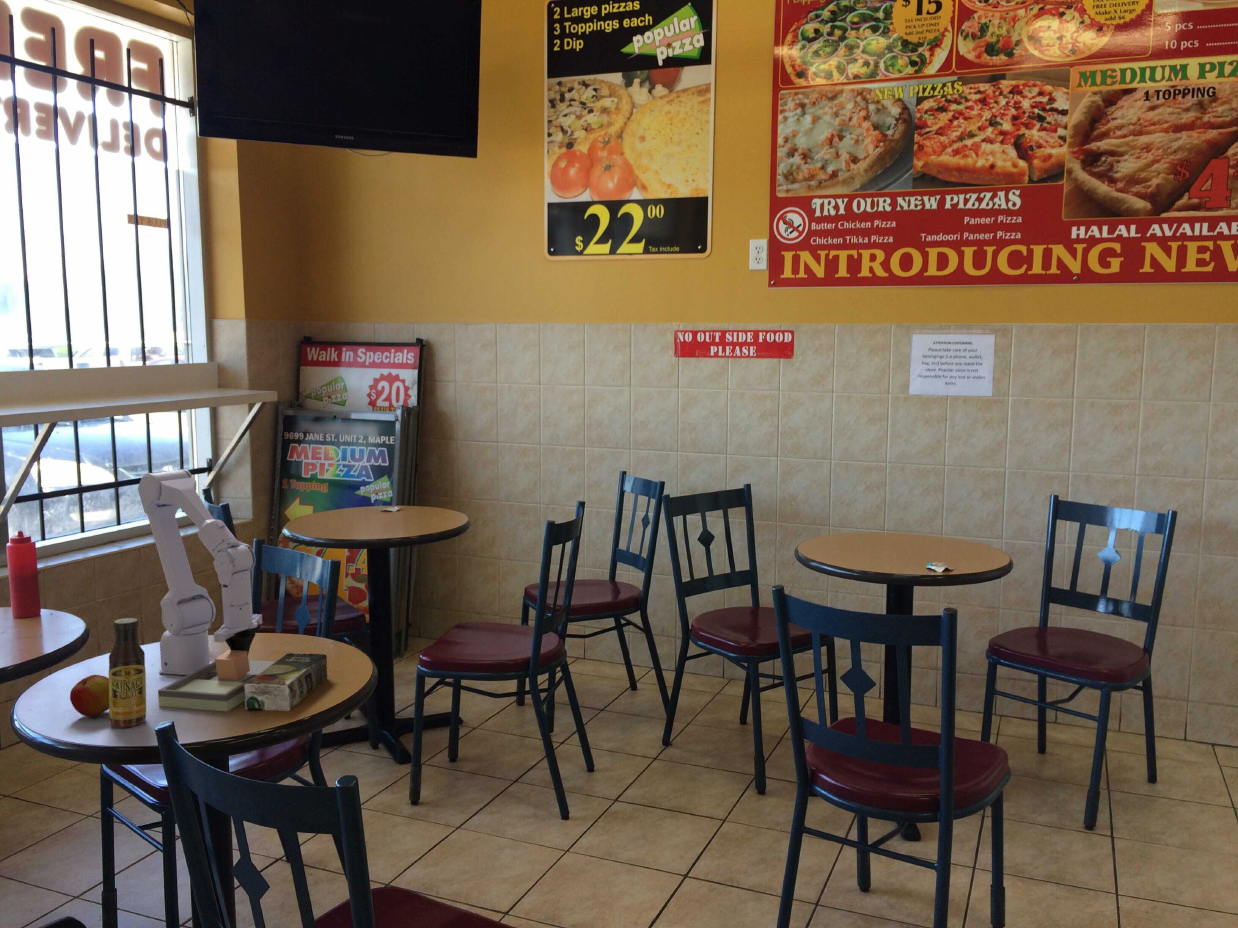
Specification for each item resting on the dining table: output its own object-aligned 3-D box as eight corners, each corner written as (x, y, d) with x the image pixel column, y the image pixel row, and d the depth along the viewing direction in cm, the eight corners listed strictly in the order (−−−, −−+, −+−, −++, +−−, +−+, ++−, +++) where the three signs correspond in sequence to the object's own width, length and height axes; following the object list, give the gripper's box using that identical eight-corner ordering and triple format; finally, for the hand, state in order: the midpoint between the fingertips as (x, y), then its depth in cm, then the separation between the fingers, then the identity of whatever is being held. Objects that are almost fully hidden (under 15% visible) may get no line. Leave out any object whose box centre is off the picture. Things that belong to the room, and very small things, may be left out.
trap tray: (158, 705, 195) (158, 690, 195) (230, 667, 219) (230, 653, 218) (226, 711, 192) (226, 695, 192) (292, 671, 216) (291, 657, 215)
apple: (83, 709, 194) (80, 669, 193) (126, 707, 194) (123, 668, 193) (64, 723, 186) (61, 682, 185) (109, 722, 187) (106, 681, 186)
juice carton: (289, 714, 191) (288, 683, 191) (240, 712, 192) (239, 682, 192) (329, 680, 211) (328, 652, 211) (285, 679, 212) (284, 651, 212)
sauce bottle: (110, 731, 182) (103, 626, 180) (110, 720, 188) (103, 618, 185) (149, 725, 185) (143, 622, 183) (148, 714, 191) (141, 614, 188)
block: (218, 678, 205) (215, 658, 204) (231, 669, 209) (228, 649, 208) (237, 680, 204) (233, 660, 203) (250, 670, 208) (247, 650, 207)
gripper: (234, 612, 200) (238, 677, 201) (273, 595, 214) (276, 656, 215) (203, 611, 201) (207, 676, 203) (243, 594, 215) (247, 654, 217)
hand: (241, 665), depth 209 cm, fingers closed, pressing on block
